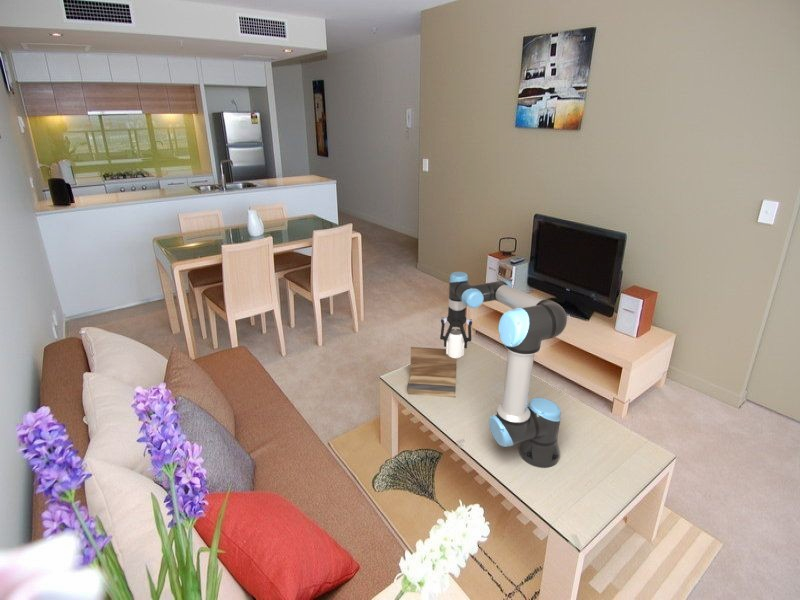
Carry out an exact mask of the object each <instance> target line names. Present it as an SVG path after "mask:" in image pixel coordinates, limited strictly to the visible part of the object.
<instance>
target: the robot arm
mask: <svg viewBox="0 0 800 600" xmlns="http://www.w3.org/2000/svg"><path fill="white" fill-rule="evenodd" d="M468 278H469V276H468V274H467V273H466V272H464V271H454V272H451V273H450V275H449V281H448V309H447V310H448V311H447V317H441V318H440V319H441V320H440V322H441V327H440V328H441V329H440V337H439V339H440V340H442V341H443V347H444V348H445V349H446V354H448V338H449V334H450V332H451V330H452V329H454V328H459V329H460V330H461V333H462V336H463V347H462V357H463V356H465V349H467V348H468V342H472V324H473V319H468V318H467V317H466V315H467V308H466V307H469V308H471V309H476V308H478V307H480V306H481V305H483V303H486V302H493V301H494V302H496V301H497V302H498V303H500V304H502V305H504V306H506V307H508V308H510V309H511V310H508V311H506V312H504V313H503V314H502V316H501V317H500V319H499V322H498V333H499V339H500V341H501V342H502V344H503V345H504V348H505V349H506V350H507V360H506V368H505V377H504V385H503V392H502V393H503V394H502V402H501V403H499V404H498V406H497V408H496V414H493V415H492V416H490V417H489V421H488V423H489V424H488V425H489V430H490V431H491V434H492V437H493V438H494V440H495V441H496V442H497V444H498V445H499V446H500V447H504V448H507V447H513V446H515V445H518V446H519V447H518V453H519V456H520V458H522V460H523V461H524V462H526V463H527V464H529V465H531V466H533V467H538V468H542V469H543V468H550V467H554V466H556V464H557V463H559V461H560V455H561V451H560V448H559V447H560V446H559V444H558V436H559V430H560V425H561V421H562V417H561V416H562V411H561V407H560V406H559V405H557V403H555V402H554V401H552V400H550V399H548V398H544V397H534V398H532V399H530V400H529V396H530V395H529V394H530V388H531V381H532V373H533V367H534V360H535V355H536V354H537V353H539V352H540V349H541V346H542V345H541V344H542V341H545V340H550V339H553V338H557V336H560V335H561V334H562V333H563V331H564V330H565V328H566V327H567V323H568V317H567V312H566V310H565V309H564V308H563V306H561V305H560V304H559V303H558V302H555V301H553V300H551V299H548V298H546V299H545V298H544V299H541V298H539V297H536V296H533V295H531V294H529V293H527V292H524V291H522V290H519V289H518V288H517V289H516V288H514V287H513V286H512V285H513V284H511V283H510V281H509V280H497V281H493V282H491V281H490V282H486V283H479V284H478V283H477V284H471V283H470V282H468V281H469V279H468ZM446 323H448V324H449V325H448V328H447V330H446V332H445V325H446ZM465 323H466V324H467V331H468V332H467V333H468V335H467V333H466V331H465V328H464V327H465V326H464V324H465ZM444 333H445V335H444Z"/></svg>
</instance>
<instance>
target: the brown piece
mask: <svg viewBox="0 0 800 600" xmlns="http://www.w3.org/2000/svg"><path fill="white" fill-rule="evenodd" d="M457 362H458V358H456V359H455V358H451V357H449V355H448V354H446V348H441V347H440V348H437V347H436V348H435V347H421V346H419V347H418V346H416V347H415V346H411V347H410V378H409V382H408V383H407V394H408V395H412V396H413V395H416V396H417V395H419V396H433V397H443V398H444V397H447V398H456V390H457V389H456V386H457V384H456V383H457Z"/></svg>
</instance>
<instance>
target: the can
mask: <svg viewBox="0 0 800 600" xmlns="http://www.w3.org/2000/svg"><path fill="white" fill-rule="evenodd" d="M463 340H464V339H463V336H462V333H461V330H460V328H452V330H451V332H450V334H449V336H448V355H449V357H451V358H455V359H456V358H457V359H460V358H461V357H463V355H462V347H463Z"/></svg>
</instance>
